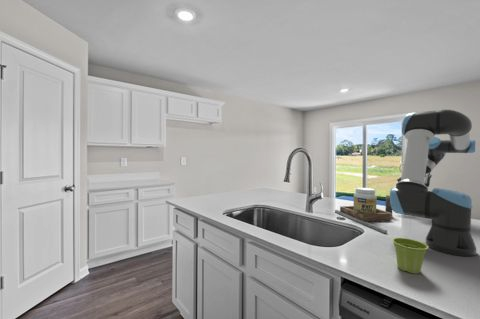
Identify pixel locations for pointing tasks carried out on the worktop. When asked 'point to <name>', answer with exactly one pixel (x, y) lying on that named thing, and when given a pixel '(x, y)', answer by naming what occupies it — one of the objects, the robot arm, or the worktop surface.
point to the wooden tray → (377, 216)
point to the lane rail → (362, 222)
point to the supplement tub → (365, 200)
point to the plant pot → (409, 254)
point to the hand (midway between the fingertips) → (404, 191)
